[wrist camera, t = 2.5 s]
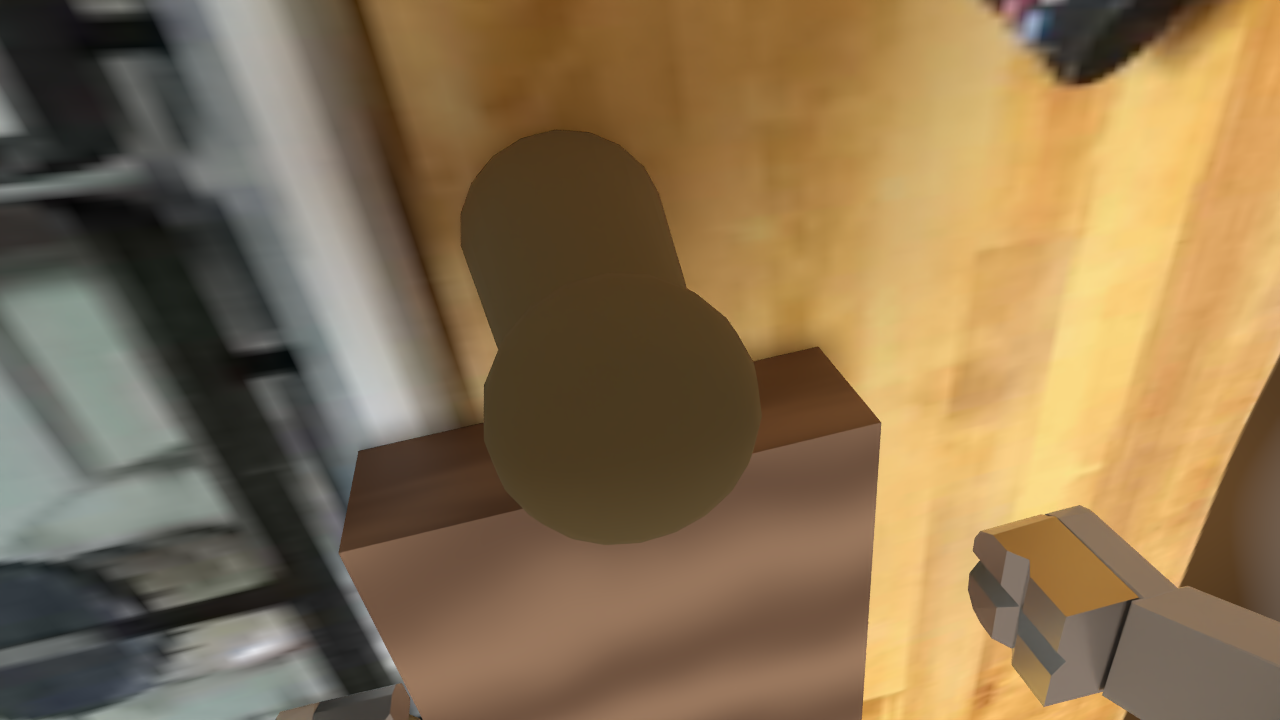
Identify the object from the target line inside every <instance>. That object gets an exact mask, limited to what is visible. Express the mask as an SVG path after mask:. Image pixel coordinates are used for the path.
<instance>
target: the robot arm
mask: <svg viewBox="0 0 1280 720" xmlns="http://www.w3.org/2000/svg"><path fill="white" fill-rule="evenodd" d="M973 552H974V553H975V554H976V556H977V557H978V558H979V559H980V561H979V562H978V563H977V565H976V566H975V567H974V568H973V570H972V571H971V572H970V574H969V585H968V591H969V595H970V599H971V603H972V606H973V609H974V611H975V613H976V615H977V617H978V619H979V621H980V623H981V624H982V626H983V627H984V628H985V630H986V631H987V632H988V634H989V635H990V637H991V638H992V639H994V640H996V641H998V642H1000V643H1002V644H1004V645H1006V646H1008V647H1010V648H1012V666H1013V667H1014V669H1015V670H1016V671H1017V672H1018V674H1019V675H1020V676H1021V678H1022V679H1023V680H1024V682H1025V683H1026V684H1027V686H1028V687H1029V688H1030V689H1031V691H1032V692H1033V693H1034V695H1035V696H1036V697H1037V699H1038V700H1039V701H1040V703H1041V704H1042V705H1043V707H1045V706H1049V705H1053V704H1056V703H1060V702H1064V701H1068V700H1072V699H1076V698H1080V697H1084V696H1088V695H1092V694H1095V693H1099V692H1103V694H1102V695H1103V696H1104V697H1106V698H1107V699H1109V700H1111V701H1112V702H1114V703H1115V704H1117V705H1119V706H1120V707H1122V708H1123V709H1125V710H1127V711H1128V712H1130V713H1132V714H1133V715H1135V716H1137V717H1138V718H1140V719H1141V720H1280V622H1277V621H1275V620H1272V619H1270V618H1267V617H1265V616H1262V615H1260V614H1257V613H1254V612H1252V611H1250V610H1247V609H1245V608H1242V607H1240V606H1237V605H1235V604H1232V603H1230V602H1227V601H1224V600H1222V599H1219V598H1217V597H1214V596H1212V595H1209V594H1207V593H1204V592H1202V591H1199V590H1197V589H1194V588H1192V587H1189V586H1186V587H1181V588H1177V587H1176V586H1175V585H1173V584H1172V583H1171V582H1170V581H1169V580H1168V579H1167V578H1166V577H1165V576H1163V575H1162V574H1161V573H1160V572H1159V571H1158V570H1157V569H1156V568H1155V567H1153V566H1152V565H1151V564H1150V563H1149V562H1148V561H1147V560H1146V559H1145V558H1143V557H1142V556H1141V555H1140V554H1139V553H1138V552H1137V551H1136V550H1135V549H1133V548H1132V547H1131V546H1130V545H1129V544H1128V543H1127V542H1126V541H1125V540H1123V539H1122V538H1121V537H1120V536H1119V535H1118V534H1117V533H1116V532H1114V531H1113V530H1112V529H1111V528H1110V527H1109V526H1108V525H1107V524H1106V523H1104V522H1103V521H1102V520H1101V519H1100V518H1099V517H1098V516H1097V515H1096V514H1094V513H1093V512H1092V511H1091V510H1089V509H1087V508H1085V507H1083V506H1080V505H1079V506H1075V507H1071V508H1067V509H1063V510H1059V511H1055V512H1052V513H1048V514H1045V515H1037V516H1033V517H1030V518H1026V519H1023V520H1019V521H1015V522H1012V523H1008V524H1004V525H1001V526H997V527H994V528H990V529H986V530H983V531H980V532H979V534H978V535H977V536H976V537H975V540H974V546H973ZM409 708H410V697H409V695H408V694H407V692H406V690H405V688H404V686H403V685H402V683H401V684H396V685H391V686H387V687H383V688H378V689H374V690H370V691H366V692H361V693H357V694H353V695H348V696H344V697H340V698H335V699H331V700H327V701H323V702H319V703H315V704H311V705H307V706H303V707H299V708H295V709H291V710H286V711H282V712H280V713H279V715H278V716H277V718H276V720H420V719H419V718H417V717H414V716H412V715H410V714H409Z"/></svg>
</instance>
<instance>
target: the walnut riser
mask: <svg viewBox="0 0 1280 720" xmlns="http://www.w3.org/2000/svg"><path fill="white" fill-rule="evenodd" d="M753 363H754V365H755V370H756V376H757V381H758V388H759V396H760V404H761V412H762V418H761V422H760V426H759V430H758V434H757V438H756V442H755V446H754V450H753V453H752V456H751V459H750V462H749V464H748V466H747V467H746V469H745V471H744V472H743V474H742V476H741V477H740V479H739V480H738V482H737V484H736V485H735V487H734V488H733V490H732V492H731V493H729V494H728V495H727V496H726V497H725V498H724V499H723V500H722V501H721V502H720V503H719V504H718V505H717V506H716V507H714V508H713V509H712V510H711V511H710V512H709V513H708V514H707V515H706V516H704V517H702V518H700V519H698V520H697V521H695V522H693V523H691V524H690V525H688V526H686V527H684V528H683V529H681V530H679V531H677V532H675V533H672V534H669V535H665V536H662V537H659V538H655V539H652V540H649V541H645V542H642V543H631V544H616V545H602V544H596V543H591V542H586V541H580V540H575V539H571V538H569V537H567V536H565V535H563V534H561V533H559V532H557V531H555V530H553V529H551V528H549V527H547V526H545V525H543V524H542V523H540V522H539V521H537V520H536V519H534V518H533V517H531V516H530V515H528V514H527V512H526V511H525V510H524V509H523V508H522V507H521V506H520V505H519V504H518V503H517V502H516V501H515V500H514V499H513V498H512V497H511V496H510V495H509V494H508V493H507V492H506V491H505V489H504V487H503V485H502V483H501V481H500V479H499V476H498V474H497V472H496V469H495V467H494V465H493V462H492V460H491V457H490V455H489V452H488V450H487V447H486V445H485V442H484V423H480V424H476V425H471V426H467V427H463V428H458V429H454V430H449V431H445V432H441V433H436V434H432V435H427V436H423V437H418V438H414V439H410V440H405V441H401V442H396V443H392V444H388V445H383V446H379V447H374V448H370V449H366V450H361V451H358V457H357V462H356V467H355V472H354V477H353V482H352V487H351V492H350V497H349V503H348V508H347V513H346V518H345V523H344V528H343V533H342V538H341V544H340V549H339V555H340V557H341V559H342V561H343V563H344V565H345V567H346V569H347V571H348V573H349V575H350V577H351V579H352V580H353V582H354V584H355V586H356V588H357V590H358V592H359V594H360V596H361V598H362V600H363V602H364V604H365V606H366V608H367V610H368V612H369V614H370V616H371V618H372V620H373V622H374V624H375V626H376V628H377V630H378V632H379V634H380V636H381V638H382V640H383V642H384V644H385V646H386V648H387V650H388V652H389V654H390V655H391V657H392V659H393V661H394V663H395V665H396V667H397V669H398V671H399V673H400V675H401V677H402V679H403V681H404V683H405V685H406V687H407V689H408V691H409V693H410V695H411V697H412V699H413V701H414V703H415V705H416V707H417V709H418V711H419V713H420V715H421V717H422V719H423V720H862V706H863V691H864V676H865V661H866V645H867V630H868V615H869V600H870V585H871V570H872V555H873V540H874V525H875V510H876V494H877V479H878V464H879V449H880V434H881V422H880V420H879V419H878V418H877V417H876V416H875V414H874V413H873V412H872V411H871V410H870V408H869V407H868V406H867V405H866V404H865V402H864V401H863V400H862V399H861V398H860V396H859V395H858V394H857V393H856V392H855V390H854V389H853V388H852V387H851V386H850V384H849V383H848V382H847V381H846V380H845V378H844V377H843V376H842V375H841V374H840V372H839V371H838V370H837V369H836V368H835V366H834V365H833V364H832V363H831V362H830V360H829V359H828V358H827V357H826V356H825V354H824V353H823V352H822V351H821V349H820V348H819V347H815V348H810V349H806V350H802V351H797V352H793V353H788V354H784V355H780V356H775V357H771V358H766V359H762V360H758V361H753Z"/></svg>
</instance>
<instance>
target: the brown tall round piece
mask: <svg viewBox="0 0 1280 720" xmlns="http://www.w3.org/2000/svg"><path fill="white" fill-rule="evenodd" d="M461 247H462V250H463V253H464V256H465V258H466V261H467V264H468V267H469V270H470V272H471V275H472V278H473V281H474V284H475V286H476V289H477V292H478V295H479V297H480V300H481V303H482V306H483V309H484V311H485V314H486V317H487V320H488V322H489V325H490V328H491V331H492V334H493V336H494V339H495V342H496V345H497V347H498V352H497V355H496V357H495V360H494V362H493V365H492V367H491V369H490V372H489V374H488V377H487V379H486V382H485V384H484V442H485V445H486V447H487V450H488V452H489V455H490V457H491V460H492V462H493V465H494V467H495V469H496V472H497V474H498V476H499V479H500V481H501V483H502V485H503V487H504V489H505V491H506V492H507V493H508V494H509V495H510V496H511V497H512V498H513V499H514V500H515V501H516V502H517V503H518V504H519V505H520V506H521V507H522V508H523V509H524V510H525V511H526V512H527V514H528V515H530V516H531V517H533V518H534V519H536V520H537V521H539V522H540V523H542V524H543V525H545V526H547V527H549V528H551V529H553V530H555V531H557V532H559V533H561V534H563V535H565V536H567V537H569V538H571V539H575V540H580V541H586V542H591V543H596V544H602V545H616V544H631V543H642V542H645V541H649V540H652V539H655V538H659V537H662V536H665V535H669V534H672V533H675V532H677V531H679V530H681V529H683V528H684V527H686V526H688V525H690V524H691V523H693V522H695V521H697V520H698V519H700V518H702V517H704V516H706V515H707V514H708V513H709V512H710V511H711V510H712V509H713V508H714V507H716V506H717V505H718V504H719V503H720V502H721V501H722V500H723V499H724V498H725V497H726V496H727V495H728V494H729V493H731V492H732V490H733V488H734V487H735V485H736V484H737V482H738V480H739V479H740V477H741V476H742V474H743V472H744V471H745V469H746V467H747V466H748V464H749V462H750V459H751V456H752V453H753V450H754V446H755V442H756V438H757V434H758V430H759V426H760V422H761V418H762V412H761V404H760V396H759V388H758V381H757V376H756V370H755V365H754V363H753V361H752V359H751V357H750V356H749V354H748V352H747V350H746V348H745V347H744V345H743V343H742V341H741V340H740V338H739V336H738V334H737V333H736V331H735V330H734V328H733V327H732V325H731V324H730V323H729V321H728V320H727V318H726V317H724V316H723V315H722V314H721V313H720V312H718V311H717V310H716V309H715V308H713V307H712V306H711V305H710V304H708V303H707V302H706V301H705V300H703V299H702V298H701V297H700V296H698V295H697V294H696V293H694V292H692V291H690V290H689V289H687V287H686V284H685V281H684V277H683V274H682V270H681V267H680V264H679V260H678V257H677V253H676V250H675V247H674V243H673V240H672V237H671V233H670V230H669V226H668V223H667V220H666V216H665V213H664V210H663V206H662V203H661V199H660V196H659V193H658V191H657V189H656V188H655V186H654V184H653V182H652V181H651V179H650V177H649V175H648V173H647V172H646V170H645V168H644V166H642V165H641V164H640V163H639V162H638V161H637V160H636V159H635V158H633V157H632V156H631V155H630V154H629V153H628V152H627V151H626V150H624V149H623V148H622V147H621V146H620V145H618V144H615V143H613V142H611V141H608V140H606V139H603V138H601V137H599V136H596V135H594V134H592V133H589V132H576V131H562V130H553V131H549V132H545V133H541V134H537V135H533V136H529V137H525V138H521V139H520V140H518V141H517V142H515V143H513V144H512V145H510V146H509V147H507V148H506V149H504V150H503V151H501V152H499V153H498V154H496V155H495V156H493V157H492V158H491V159H490V161H489V162H488V163H487V164H486V166H485V167H484V168H483V169H482V171H481V172H480V173H479V174H478V176H477V177H476V178H475V179H474V181H473V182H472V183H471V186H470V189H469V192H468V195H467V197H466V200H465V203H464V206H463V209H462V212H461Z"/></svg>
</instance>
